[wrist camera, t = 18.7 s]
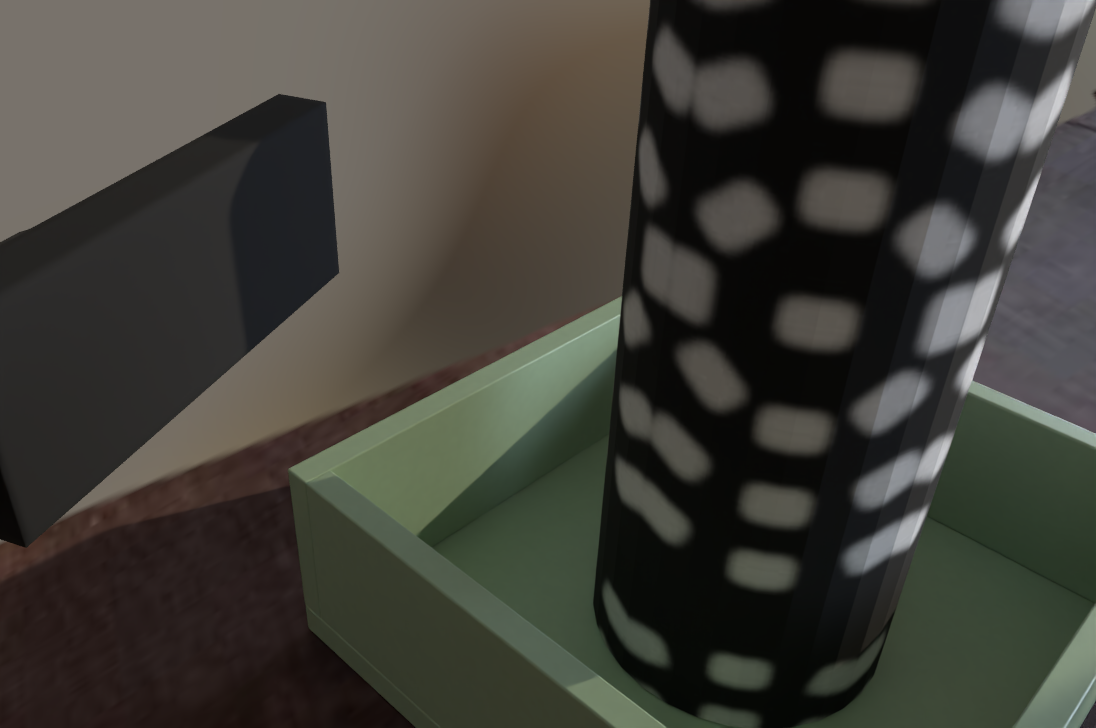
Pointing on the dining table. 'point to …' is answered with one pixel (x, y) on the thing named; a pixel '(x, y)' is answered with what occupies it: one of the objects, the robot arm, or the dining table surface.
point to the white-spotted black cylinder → (806, 325)
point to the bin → (572, 547)
